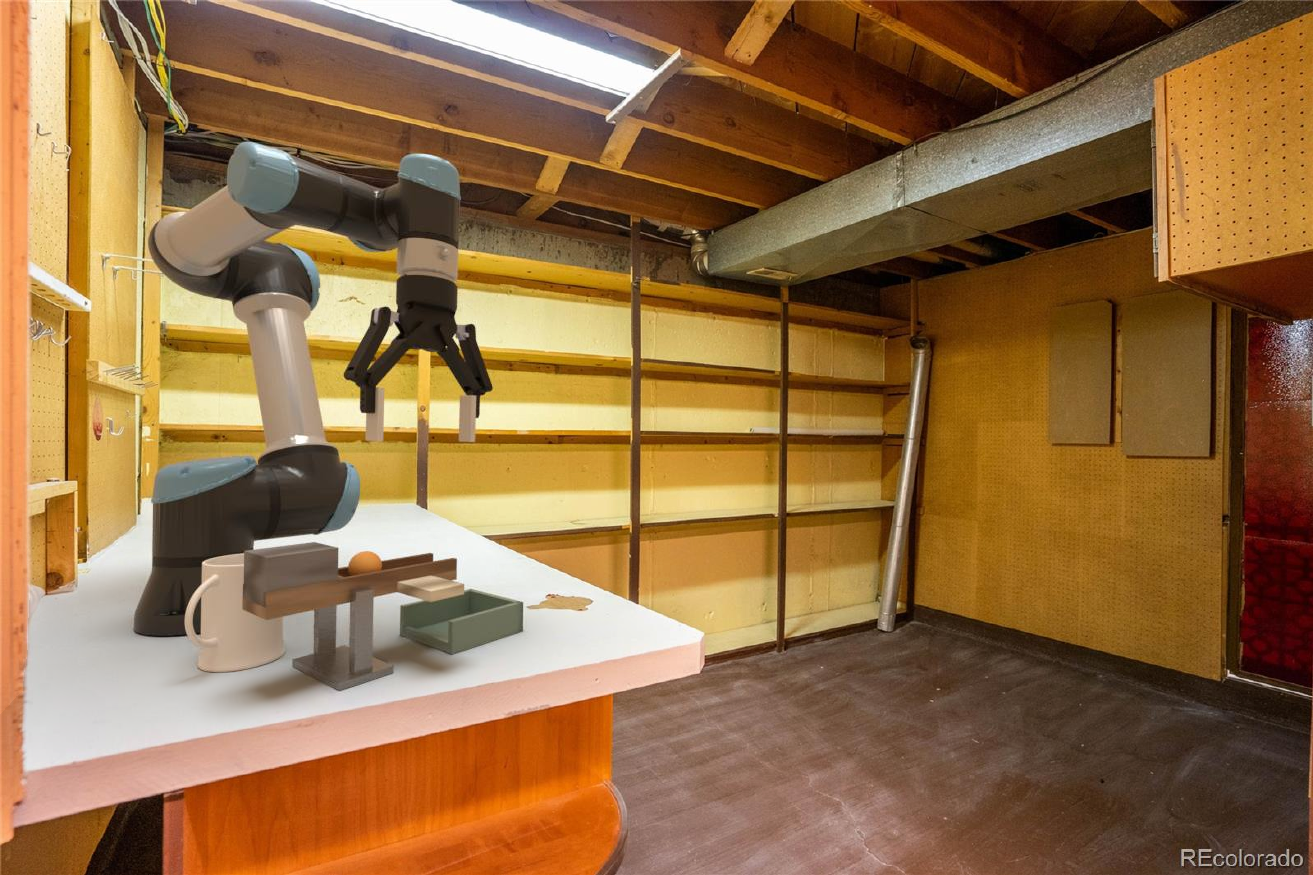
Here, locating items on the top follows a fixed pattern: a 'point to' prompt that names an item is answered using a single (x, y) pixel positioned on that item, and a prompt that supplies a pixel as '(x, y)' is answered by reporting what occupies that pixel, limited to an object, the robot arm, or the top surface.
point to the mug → (230, 621)
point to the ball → (364, 563)
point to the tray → (461, 620)
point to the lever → (335, 579)
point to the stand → (344, 646)
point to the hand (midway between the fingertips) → (423, 441)
